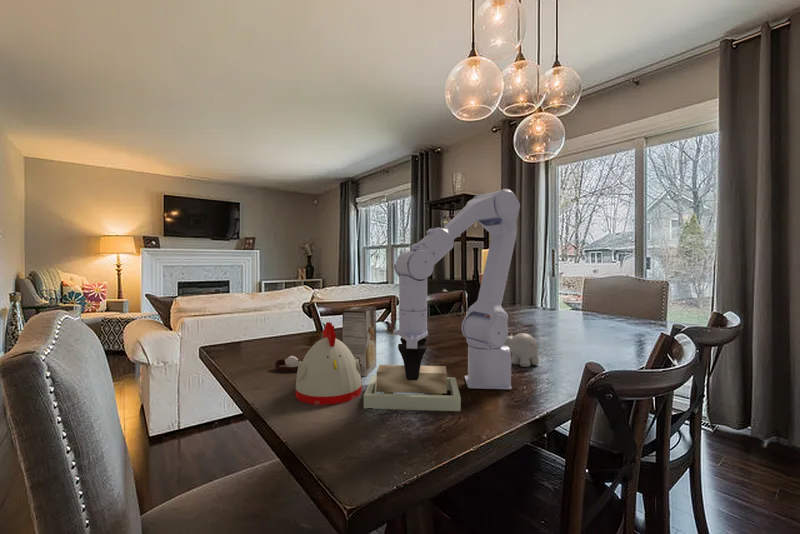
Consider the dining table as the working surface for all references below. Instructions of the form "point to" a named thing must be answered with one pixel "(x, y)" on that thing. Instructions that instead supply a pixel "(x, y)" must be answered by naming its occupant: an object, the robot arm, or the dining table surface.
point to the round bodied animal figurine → (522, 349)
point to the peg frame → (413, 399)
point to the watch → (288, 364)
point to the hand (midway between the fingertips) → (412, 375)
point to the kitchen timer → (328, 372)
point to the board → (428, 380)
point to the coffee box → (361, 335)
